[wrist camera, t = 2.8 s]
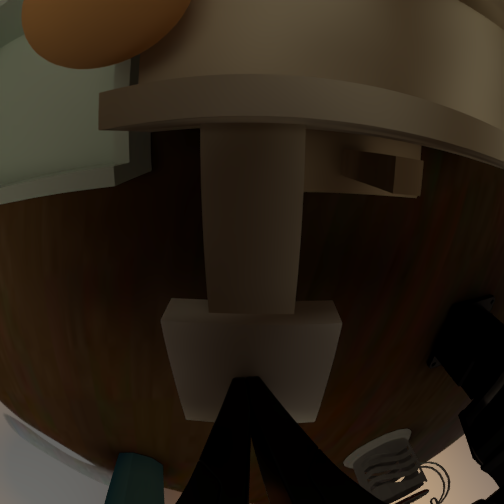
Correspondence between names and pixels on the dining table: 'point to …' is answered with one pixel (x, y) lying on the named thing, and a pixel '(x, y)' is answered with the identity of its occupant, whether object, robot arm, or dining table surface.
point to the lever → (296, 156)
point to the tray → (59, 121)
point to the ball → (97, 29)
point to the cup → (136, 481)
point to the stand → (361, 164)
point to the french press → (391, 468)
